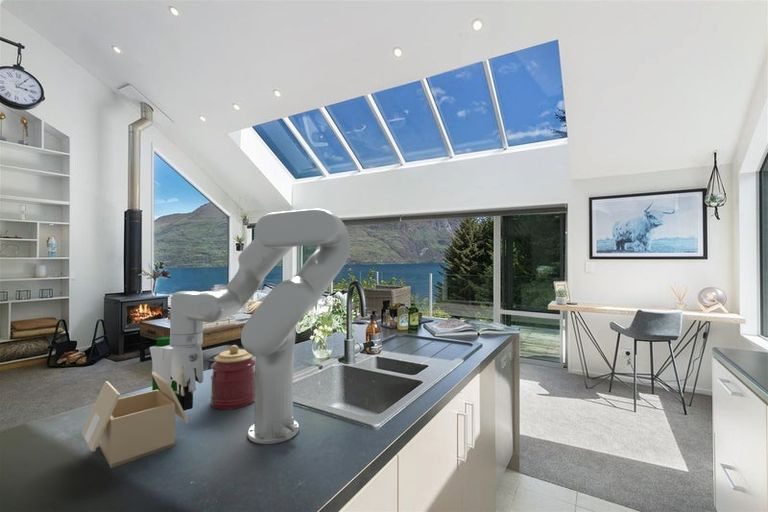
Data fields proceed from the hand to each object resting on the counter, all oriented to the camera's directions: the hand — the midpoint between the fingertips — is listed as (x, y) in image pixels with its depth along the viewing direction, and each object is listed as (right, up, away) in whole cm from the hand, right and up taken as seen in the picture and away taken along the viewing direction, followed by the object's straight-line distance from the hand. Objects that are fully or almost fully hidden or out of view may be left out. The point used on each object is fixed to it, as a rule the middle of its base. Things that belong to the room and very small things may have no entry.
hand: (185, 409), depth 95 cm
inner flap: (-3, +4, -4) cm, 7 cm away
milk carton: (-14, -6, +17) cm, 23 cm away
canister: (+5, -6, +19) cm, 20 cm away
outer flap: (-11, +4, -12) cm, 17 cm away
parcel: (-7, -6, -8) cm, 12 cm away
